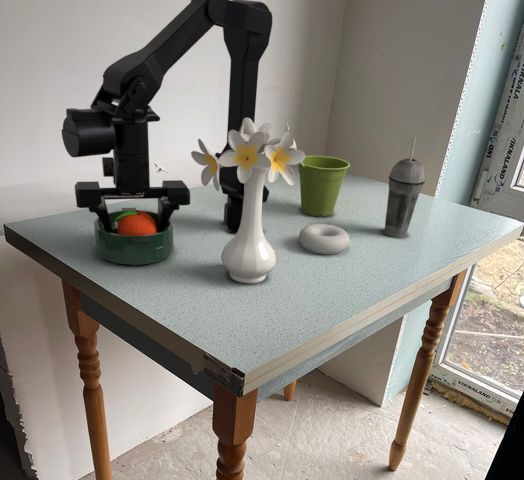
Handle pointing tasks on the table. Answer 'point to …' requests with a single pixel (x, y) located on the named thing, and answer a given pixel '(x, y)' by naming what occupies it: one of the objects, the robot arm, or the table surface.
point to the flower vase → (251, 192)
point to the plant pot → (321, 183)
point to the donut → (324, 239)
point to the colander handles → (141, 239)
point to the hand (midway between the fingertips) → (135, 241)
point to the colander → (121, 245)
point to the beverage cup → (403, 194)
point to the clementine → (135, 224)
